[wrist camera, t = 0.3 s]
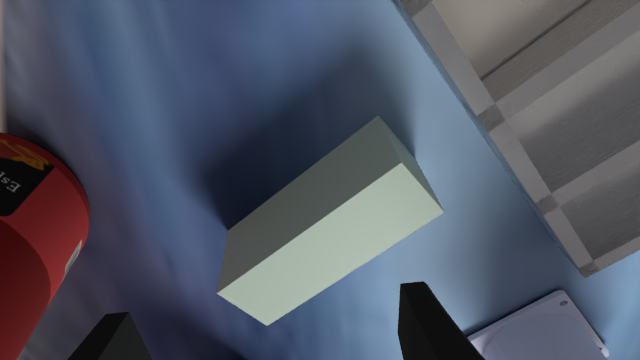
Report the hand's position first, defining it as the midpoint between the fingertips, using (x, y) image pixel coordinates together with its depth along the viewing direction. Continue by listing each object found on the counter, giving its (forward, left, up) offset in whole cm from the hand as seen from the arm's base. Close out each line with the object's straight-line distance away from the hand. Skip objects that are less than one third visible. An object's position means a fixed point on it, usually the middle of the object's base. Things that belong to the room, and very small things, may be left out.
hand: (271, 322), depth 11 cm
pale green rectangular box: (-3, 0, -10) cm, 11 cm away
